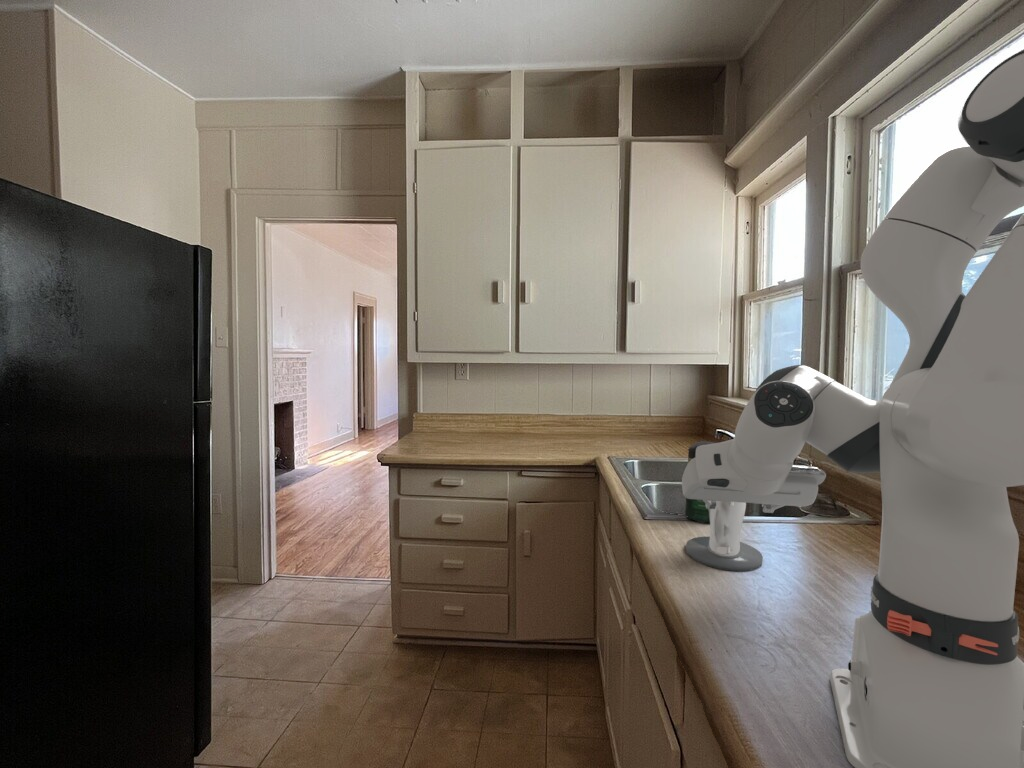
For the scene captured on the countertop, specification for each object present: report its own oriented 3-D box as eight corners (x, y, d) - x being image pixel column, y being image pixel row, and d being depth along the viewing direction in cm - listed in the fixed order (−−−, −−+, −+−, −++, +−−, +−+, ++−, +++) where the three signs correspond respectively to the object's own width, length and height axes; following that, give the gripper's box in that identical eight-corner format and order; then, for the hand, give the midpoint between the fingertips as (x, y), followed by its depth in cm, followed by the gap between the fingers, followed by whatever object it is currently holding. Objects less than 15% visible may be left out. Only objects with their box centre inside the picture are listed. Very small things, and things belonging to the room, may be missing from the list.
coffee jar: (719, 526, 112) (722, 447, 110) (683, 520, 115) (686, 444, 114) (721, 514, 120) (724, 440, 119) (688, 509, 124) (691, 437, 123)
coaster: (753, 578, 86) (753, 573, 86) (675, 556, 95) (675, 551, 95) (769, 553, 97) (769, 548, 97) (698, 535, 106) (698, 531, 106)
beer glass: (747, 561, 91) (751, 483, 90) (707, 557, 93) (711, 480, 91) (739, 546, 98) (743, 474, 97) (702, 543, 99) (706, 471, 98)
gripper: (824, 451, 75) (798, 495, 85) (686, 445, 79) (677, 487, 90) (836, 487, 71) (807, 528, 81) (689, 479, 75) (679, 519, 85)
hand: (738, 507), depth 85 cm, fingers open, 8 cm apart
